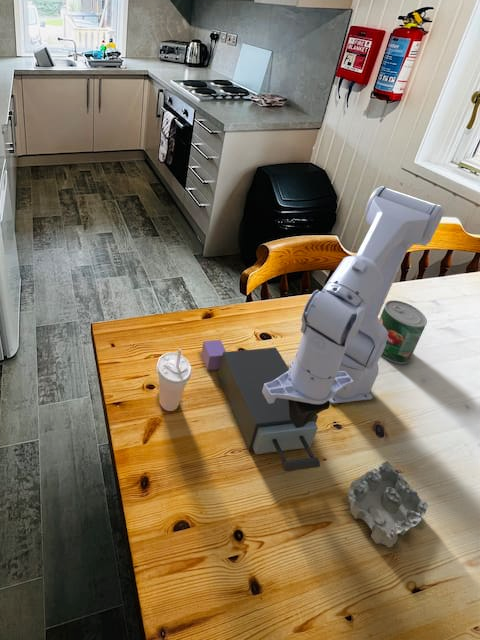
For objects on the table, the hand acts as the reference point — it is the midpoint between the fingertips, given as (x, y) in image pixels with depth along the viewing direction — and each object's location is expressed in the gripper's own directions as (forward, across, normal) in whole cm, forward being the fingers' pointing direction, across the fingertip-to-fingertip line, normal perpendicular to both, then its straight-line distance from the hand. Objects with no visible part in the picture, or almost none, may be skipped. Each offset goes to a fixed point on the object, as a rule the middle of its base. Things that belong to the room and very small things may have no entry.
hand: (296, 421), depth 65 cm
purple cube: (+9, +4, -20) cm, 23 cm away
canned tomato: (+10, -38, -17) cm, 43 cm away
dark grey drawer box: (+9, 0, -9) cm, 13 cm away
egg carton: (+10, -11, +10) cm, 18 cm away
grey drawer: (+8, 0, -5) cm, 10 cm away
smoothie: (+10, +17, -13) cm, 23 cm away
